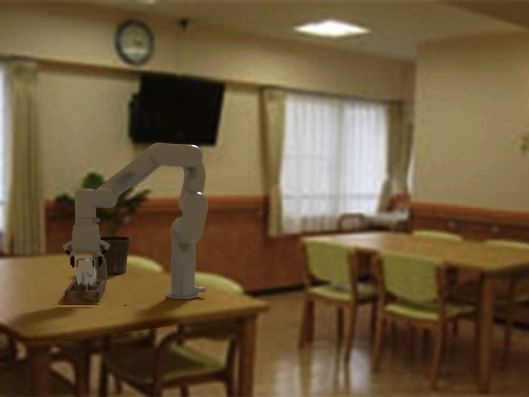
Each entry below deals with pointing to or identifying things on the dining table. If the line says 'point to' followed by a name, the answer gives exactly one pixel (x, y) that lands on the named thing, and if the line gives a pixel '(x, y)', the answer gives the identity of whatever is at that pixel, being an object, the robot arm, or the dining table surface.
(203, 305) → the dining table surface
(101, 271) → the squeeze bottle
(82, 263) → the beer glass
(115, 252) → the plant pot
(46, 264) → the dining table surface
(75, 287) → the carrier
